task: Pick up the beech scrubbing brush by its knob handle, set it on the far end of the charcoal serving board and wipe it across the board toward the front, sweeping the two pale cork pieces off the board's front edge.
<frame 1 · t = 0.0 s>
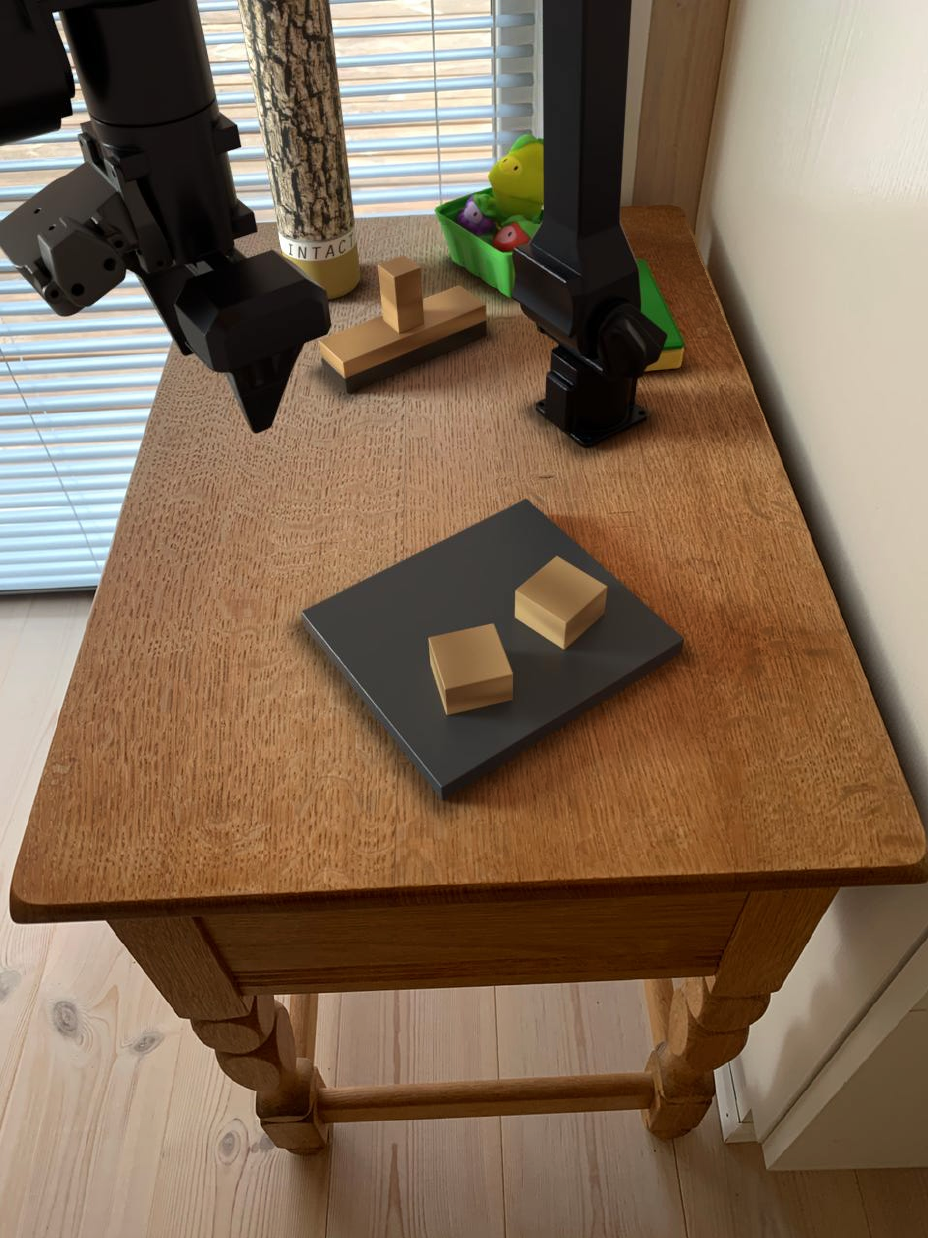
hand: (224, 389, 56), 15 cm above the table, tool pointing down, fingers open, 9 cm apart
paper tube: (325, 286, 92), on the table
fruit basket: (506, 270, 93), on the table
dish sponge: (620, 328, 86), on the table
serving board: (489, 640, 62), on the table
brush: (406, 353, 84), on the table
cork piece B: (471, 681, 58), point 1 cm above the table, touching serving board
cork piece A: (559, 615, 62), point 1 cm above the table, touching serving board
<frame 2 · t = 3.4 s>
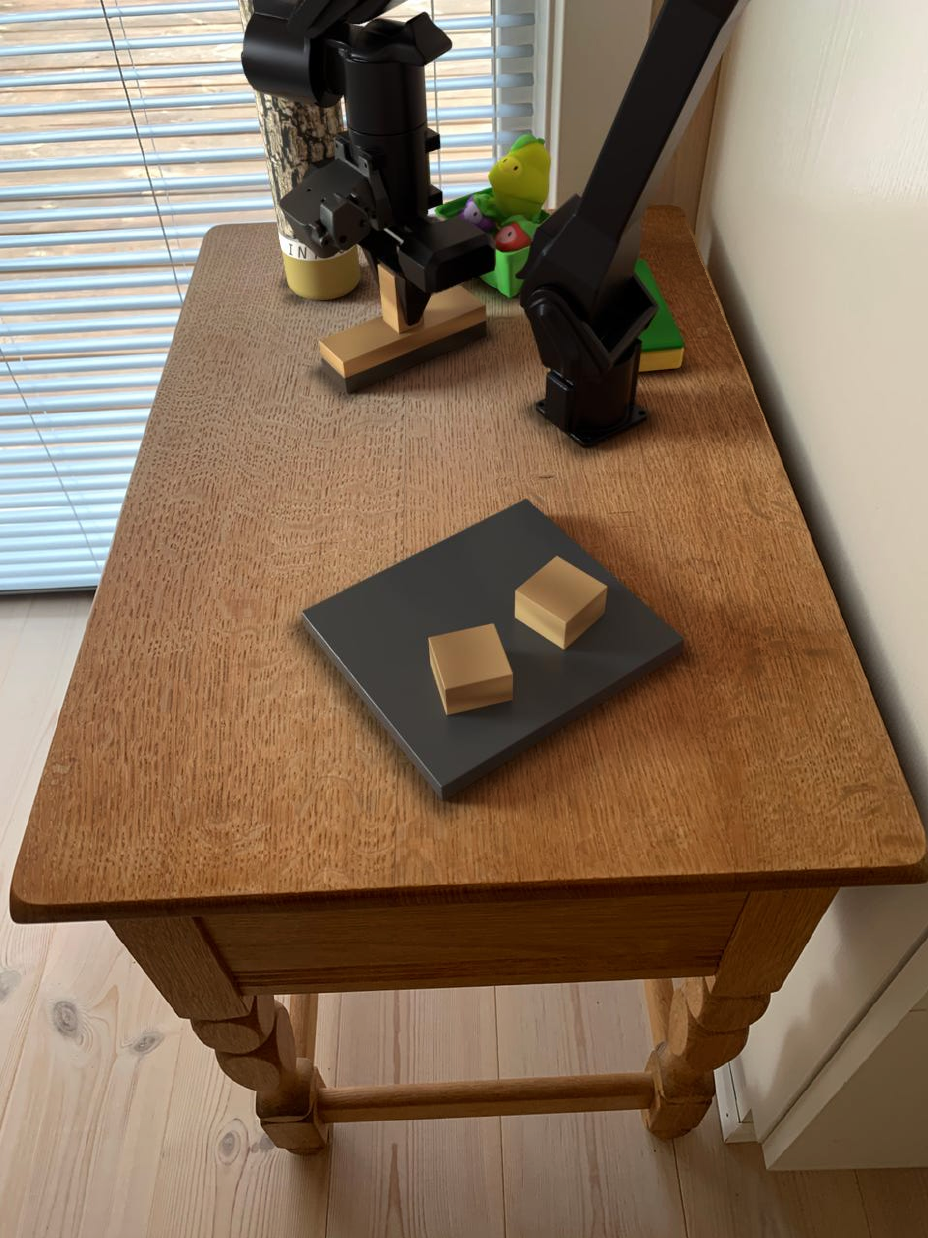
hand: (403, 316, 81), 4 cm above the table, tool pointing down, fingers closed on brush, 2 cm apart
brush: (406, 353, 84), on the table, touching gripper
everything else where it was.
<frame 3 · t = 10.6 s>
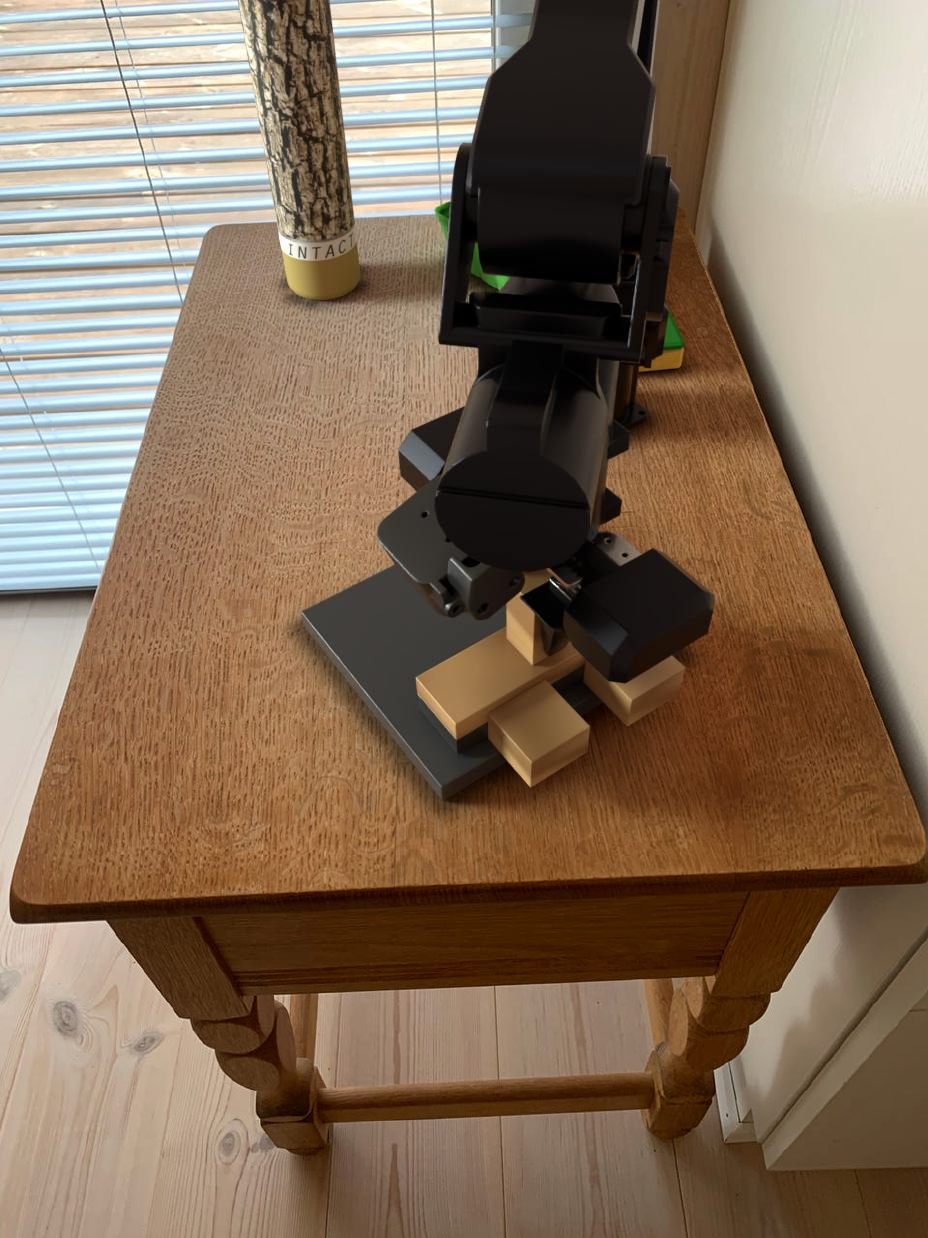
hand: (538, 635, 56), 5 cm above the table, tool pointing down, fingers closed on brush, 2 cm apart
brush: (535, 674, 58), point 2 cm above the table, touching cork piece A, cork piece B, gripper
cork piece B: (537, 745, 55), point 1 cm above the table, touching brush
cork piece A: (630, 687, 58), point 1 cm above the table, touching brush, serving board
everything else where it was.
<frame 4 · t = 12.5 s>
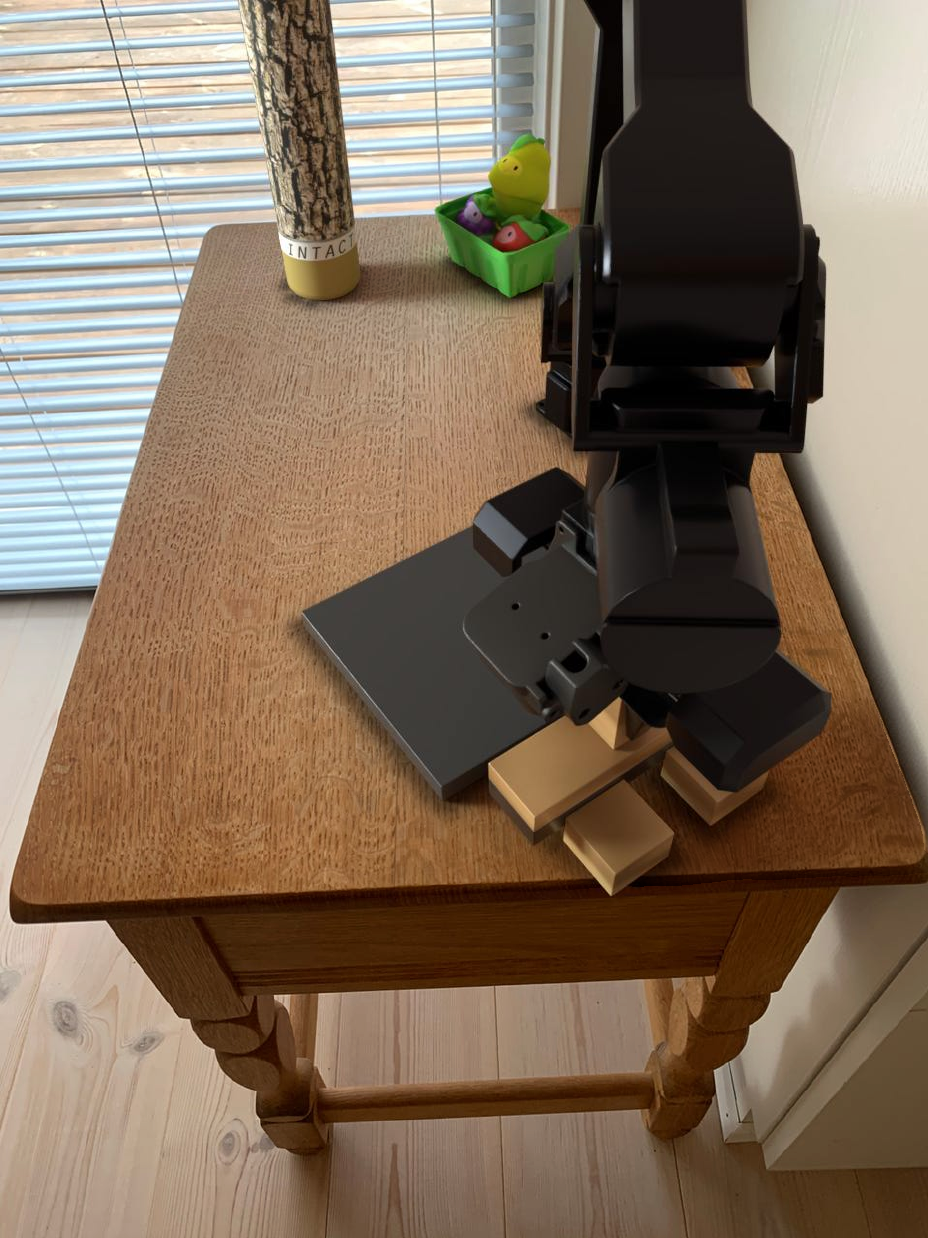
hand: (618, 716, 52), 5 cm above the table, tool pointing down, fingers closed on brush, 2 cm apart
brush: (611, 753, 55), point 2 cm above the table, touching cork piece A, gripper
cork piece B: (615, 848, 53), on the table
cork piece A: (711, 782, 55), on the table, touching brush
everything else where it was.
when the fingers open (5 cm above the table, at t = 13.2 s): brush drops 2 cm, on the table.
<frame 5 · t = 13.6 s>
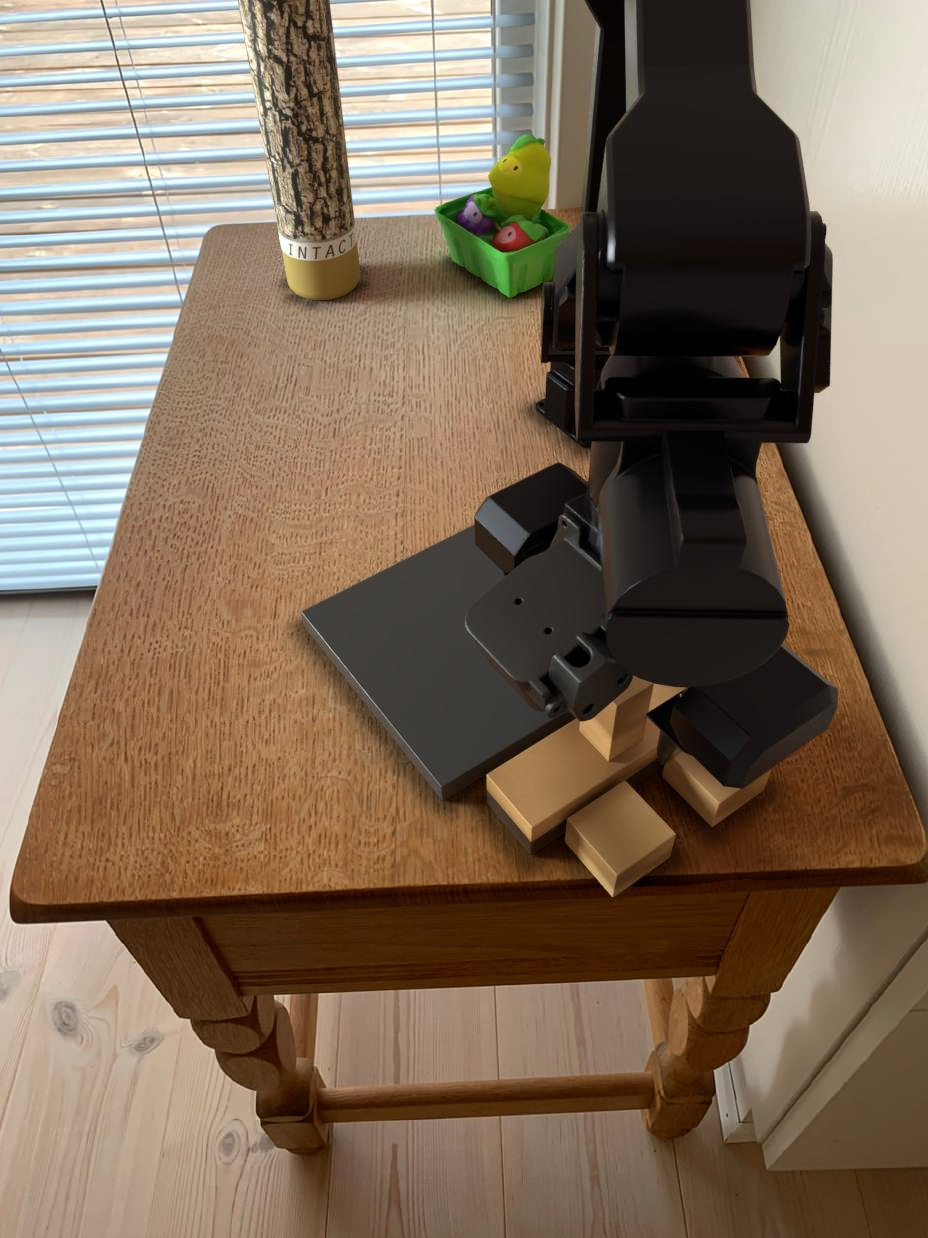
hand: (621, 714, 52), 5 cm above the table, tool pointing down, fingers open, 7 cm apart
brush: (606, 765, 56), on the table
cork piece A: (712, 783, 55), on the table
everything else where it was.
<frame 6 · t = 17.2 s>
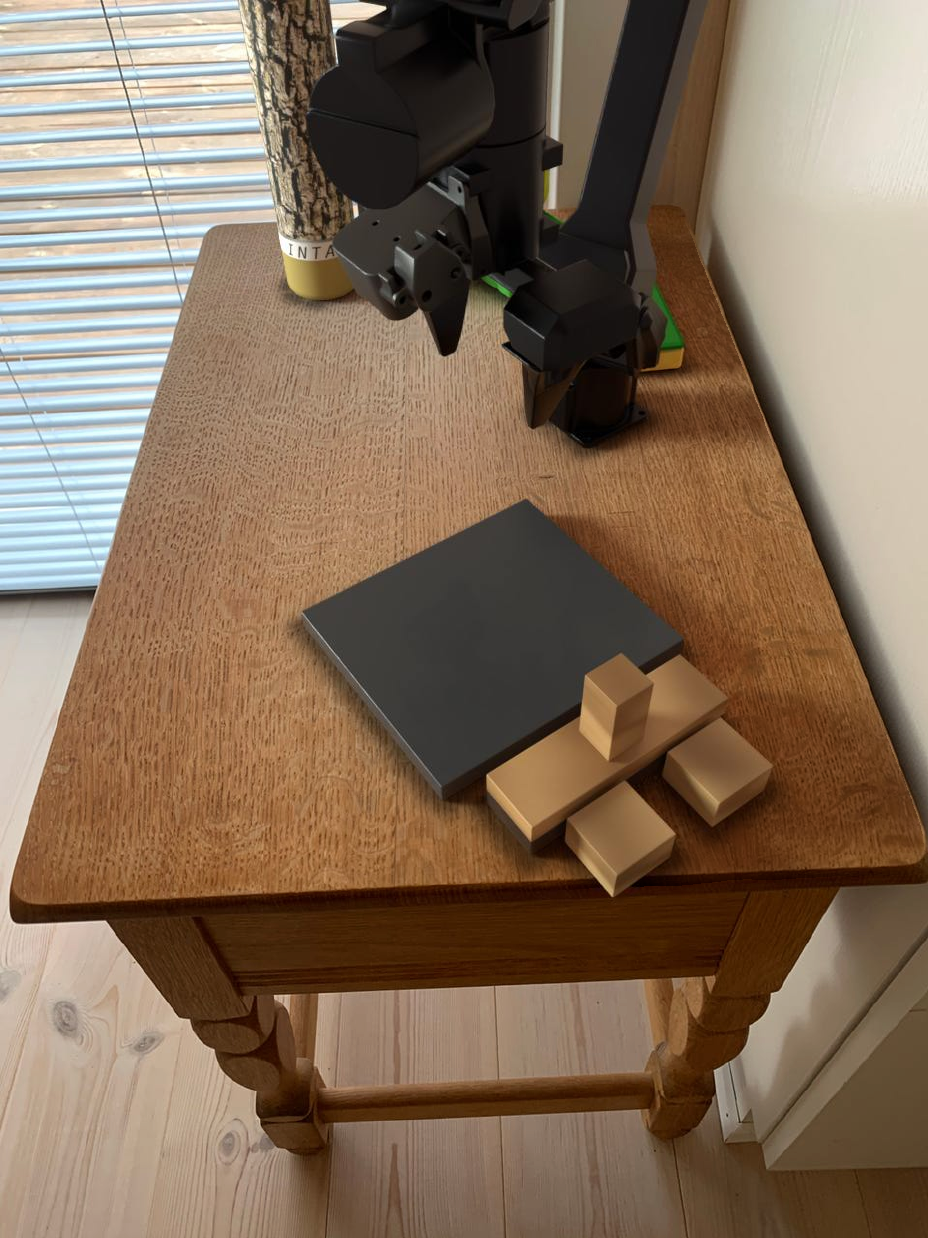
hand: (490, 388, 60), 12 cm above the table, tool pointing down, fingers open, 9 cm apart
nothing on the table moved.
at the end: cork piece A on the table; cork piece B on the table; brush moved 43.5 cm from its start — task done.
